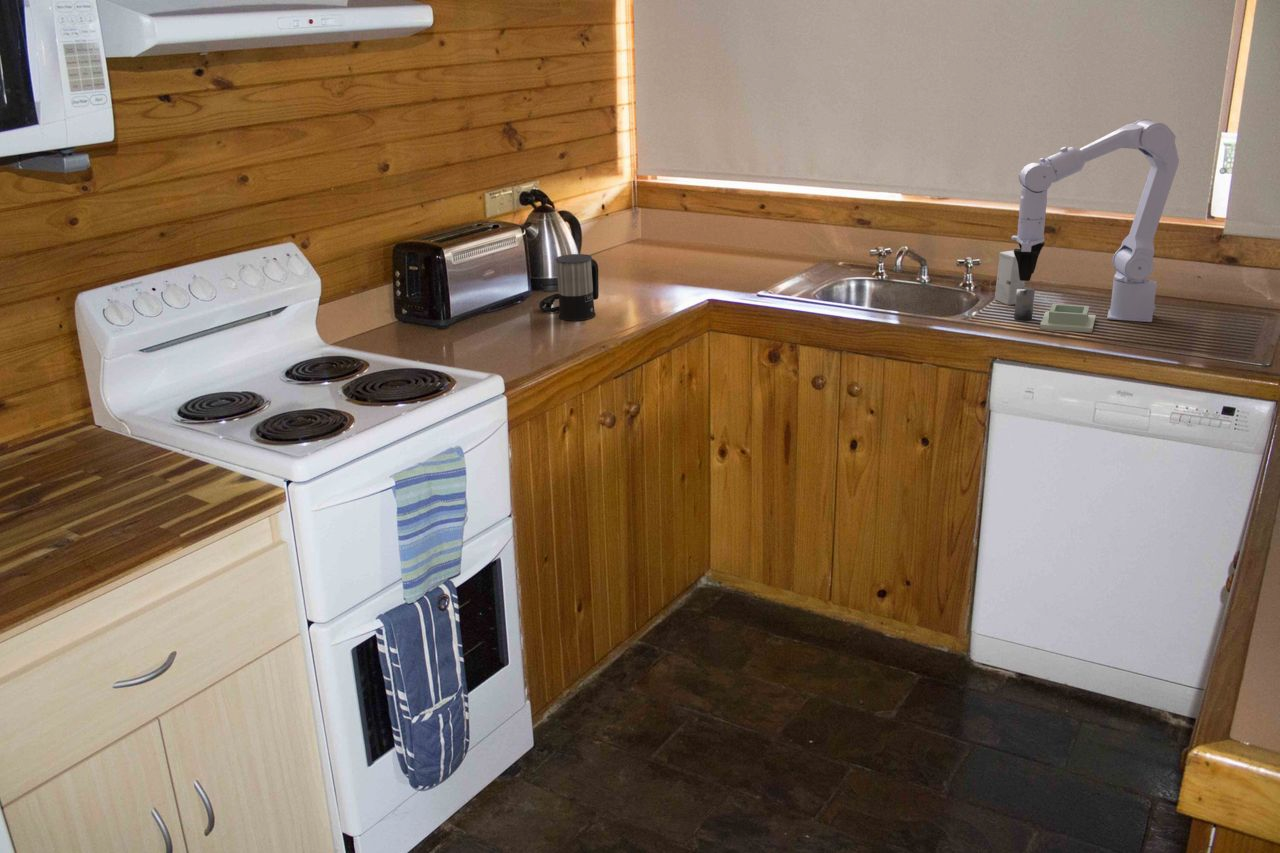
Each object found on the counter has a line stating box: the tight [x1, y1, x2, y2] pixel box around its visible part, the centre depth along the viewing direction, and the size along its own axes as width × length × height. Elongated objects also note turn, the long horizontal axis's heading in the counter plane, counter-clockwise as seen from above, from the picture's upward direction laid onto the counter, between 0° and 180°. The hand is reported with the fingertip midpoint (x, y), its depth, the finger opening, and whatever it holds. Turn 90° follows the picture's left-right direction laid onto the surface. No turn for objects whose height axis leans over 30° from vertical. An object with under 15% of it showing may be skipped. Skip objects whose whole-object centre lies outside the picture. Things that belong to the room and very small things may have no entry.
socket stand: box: [1039, 303, 1097, 334], centre depth 257 cm, size 11×12×4 cm
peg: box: [1014, 286, 1036, 322], centre depth 262 cm, size 4×4×7 cm
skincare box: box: [994, 250, 1026, 306], centre depth 276 cm, size 6×4×12 cm
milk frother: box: [538, 253, 600, 322], centre depth 280 cm, size 14×16×15 cm
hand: (1026, 276), depth 260 cm, fingers open, 7 cm apart
